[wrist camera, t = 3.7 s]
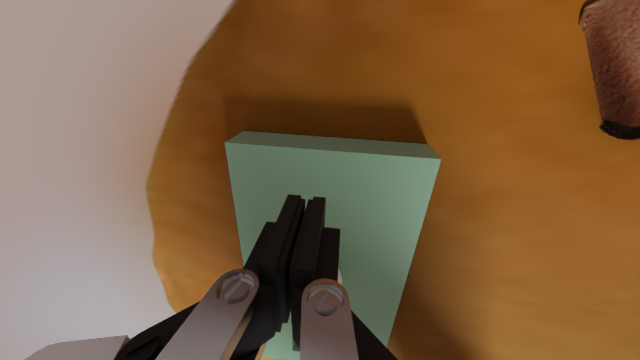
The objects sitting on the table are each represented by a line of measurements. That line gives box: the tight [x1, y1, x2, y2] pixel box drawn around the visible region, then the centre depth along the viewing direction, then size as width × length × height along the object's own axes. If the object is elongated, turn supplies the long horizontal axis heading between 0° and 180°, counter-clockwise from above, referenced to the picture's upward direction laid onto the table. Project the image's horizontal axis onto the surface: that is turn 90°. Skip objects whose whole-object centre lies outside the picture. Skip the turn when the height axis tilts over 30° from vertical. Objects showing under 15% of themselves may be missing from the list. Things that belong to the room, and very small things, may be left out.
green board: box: [225, 131, 441, 360], centre depth 22 cm, size 26×14×3 cm, turn 178°
